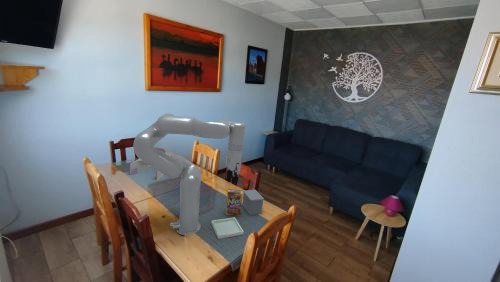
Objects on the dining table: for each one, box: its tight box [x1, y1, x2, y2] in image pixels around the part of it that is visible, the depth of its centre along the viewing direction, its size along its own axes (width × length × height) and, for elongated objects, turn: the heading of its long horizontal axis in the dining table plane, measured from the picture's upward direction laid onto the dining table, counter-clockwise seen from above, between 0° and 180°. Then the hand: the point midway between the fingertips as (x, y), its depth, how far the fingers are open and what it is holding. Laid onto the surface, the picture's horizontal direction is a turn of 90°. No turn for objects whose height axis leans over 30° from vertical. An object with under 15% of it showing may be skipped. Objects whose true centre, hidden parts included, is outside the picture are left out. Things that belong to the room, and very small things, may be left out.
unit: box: [241, 189, 265, 216], centre depth 143 cm, size 9×13×11 cm
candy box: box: [224, 188, 244, 217], centre depth 136 cm, size 9×4×15 cm, turn 89°
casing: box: [129, 146, 170, 181], centre depth 182 cm, size 28×23×20 cm
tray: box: [211, 216, 245, 240], centre depth 122 cm, size 14×14×2 cm
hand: (231, 180), depth 118 cm, fingers open, 6 cm apart
